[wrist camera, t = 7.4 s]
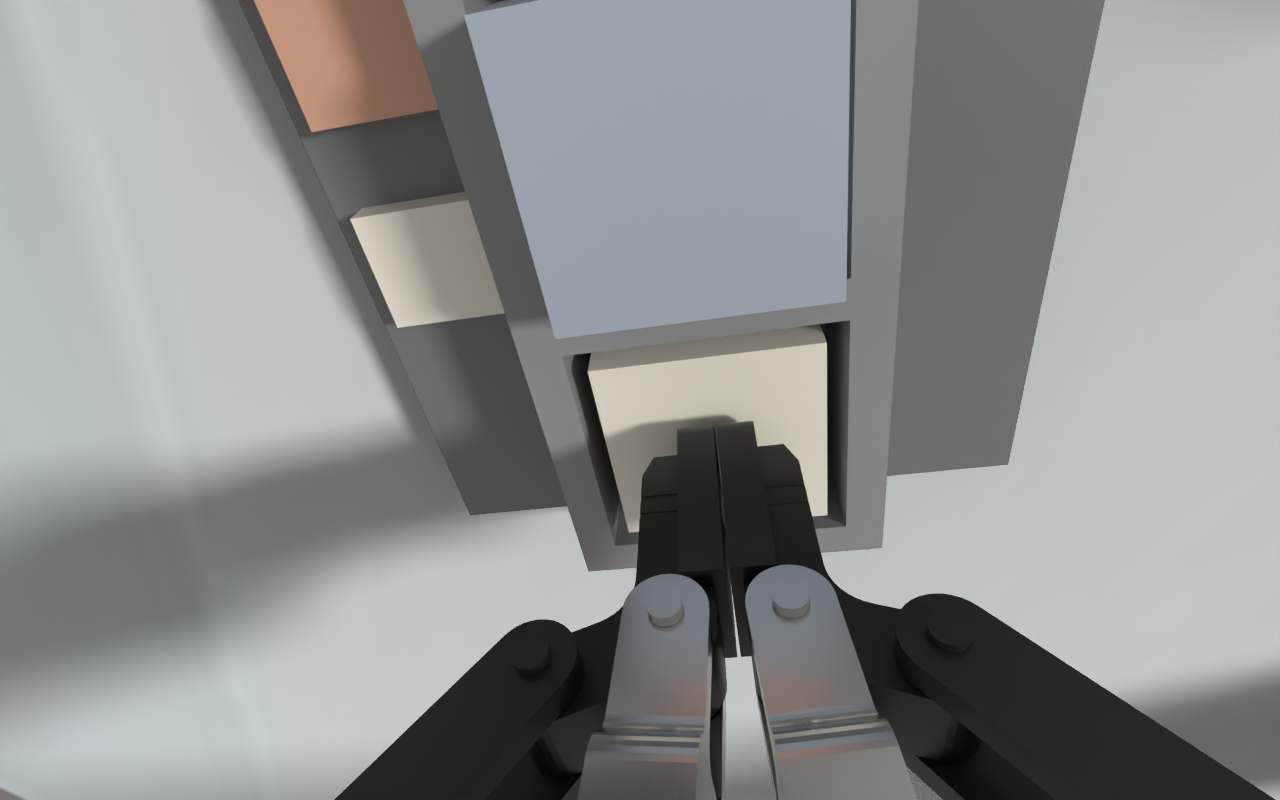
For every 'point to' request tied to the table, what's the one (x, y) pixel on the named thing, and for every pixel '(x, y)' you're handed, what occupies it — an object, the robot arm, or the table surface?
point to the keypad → (854, 330)
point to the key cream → (714, 401)
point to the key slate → (673, 153)
